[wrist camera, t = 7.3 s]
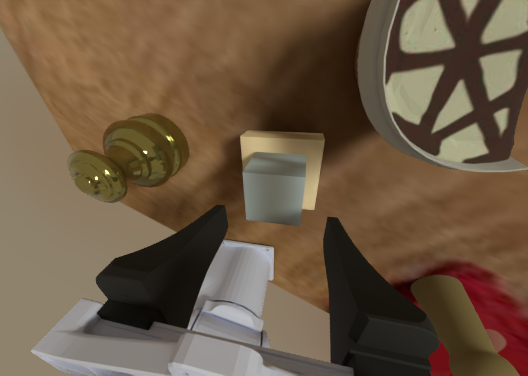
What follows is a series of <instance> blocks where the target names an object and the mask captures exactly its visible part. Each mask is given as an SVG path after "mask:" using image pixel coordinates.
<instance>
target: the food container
mask: <svg viewBox="0 0 528 376" xmlns="http://www.w3.org/2000/svg"><path fill="white" fill-rule="evenodd" d="M354 73H355V78H356V82H357V84H358V87H359V90H360V95H361V100H362V104H363V106H364V109H365V111H366V114H367V116H368V119H369V120H370V122H371V123H372V125H373V126H374V128H375V130H376V131H377V132H378V133H379V134H380V135H381V136H382V137H383V138H384V139H385V140H386V141H387V142H388V143H389V144H390V145H392V146H393V147H395V148H396V149H398V150H399V151H401V152H403V153H405V154H407V155H409V156H412V157H414V158H416V159H419V160H422V161H424V162H427V163H430V164H433V165H437V166H441V167H445V168H448V169H456V170H465V171H477V172H509V171H518V170H527V169H528V167H526V166H525V165H523V164H521V163H520V162H518V161H516V160H515V159H513V158H511V157H510V154H511V150H512V147H513V145H514V134H515V128H516V124H517V120H518V116H519V113H520V109H521V105H522V102H523V99H524V96H525V93H526V90H527V88H528V0H371V3H370V5H369V8H368V11H367V14H366V18H365V22H364V26H363V29H362V31H361V33H360V36H359V38H358V41H357V43H356V49H355V56H354Z"/></svg>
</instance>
